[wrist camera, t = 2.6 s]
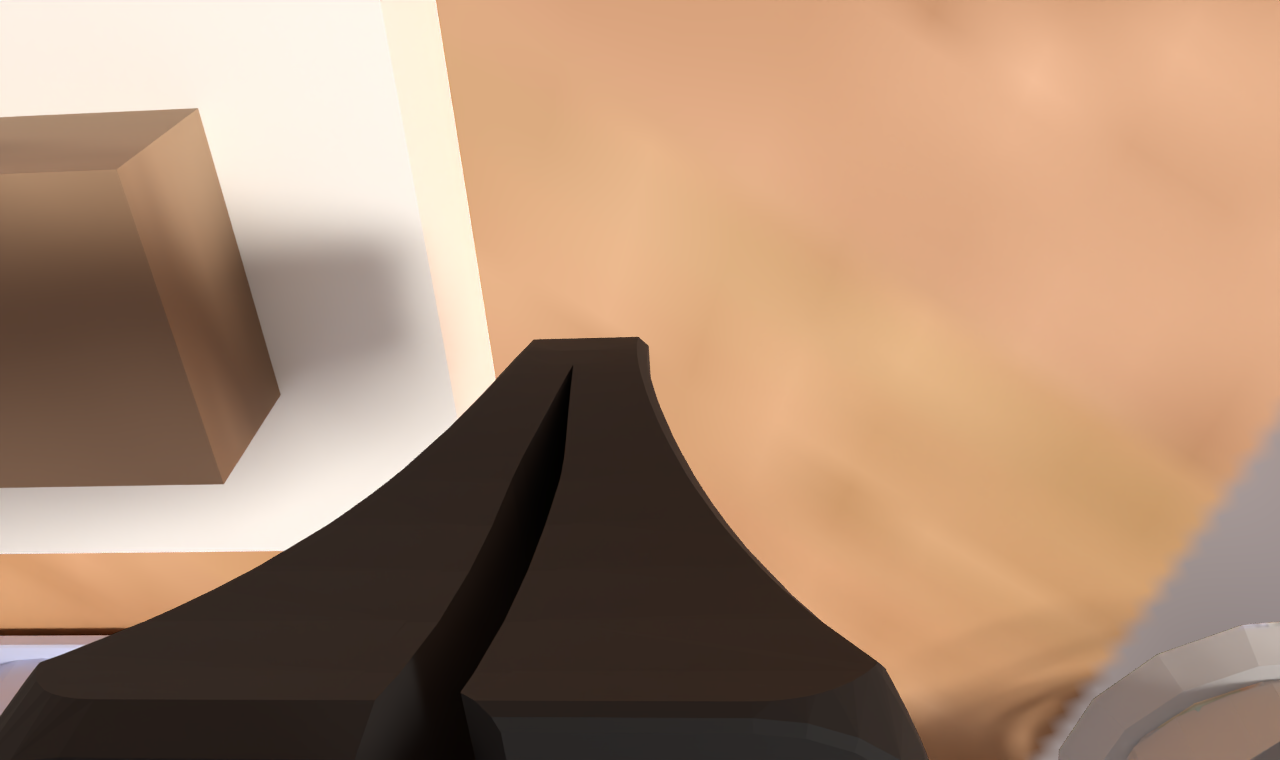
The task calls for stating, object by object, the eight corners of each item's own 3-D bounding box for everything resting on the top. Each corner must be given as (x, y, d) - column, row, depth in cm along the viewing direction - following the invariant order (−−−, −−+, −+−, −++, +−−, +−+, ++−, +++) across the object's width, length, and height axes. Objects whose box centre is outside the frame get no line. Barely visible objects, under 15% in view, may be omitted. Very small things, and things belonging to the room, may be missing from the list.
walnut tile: (281, 395, 18) (223, 484, 16) (4, 401, 18) (-87, 489, 16) (198, 108, 15) (115, 170, 13) (-123, 123, 16) (-251, 184, 14)
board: (507, 453, 22) (481, 548, 20) (-158, 466, 23) (-264, 557, 21) (405, -191, 16) (347, -175, 13) (-499, -129, 17) (-712, -104, 14)
